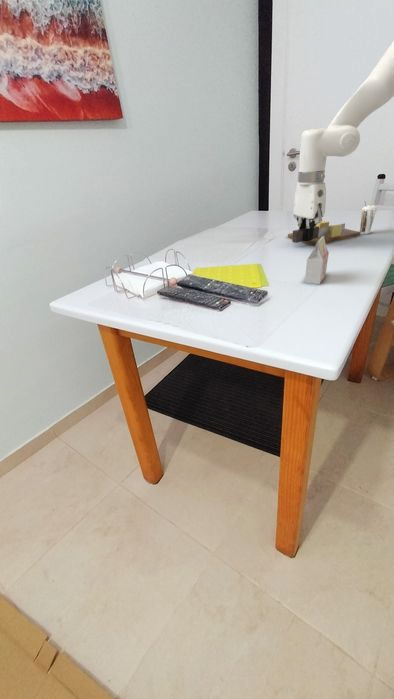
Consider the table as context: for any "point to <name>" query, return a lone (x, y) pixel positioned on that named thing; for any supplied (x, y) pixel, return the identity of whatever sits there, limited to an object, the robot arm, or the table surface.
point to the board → (344, 235)
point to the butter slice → (335, 230)
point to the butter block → (322, 224)
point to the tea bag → (317, 263)
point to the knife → (299, 234)
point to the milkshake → (367, 218)
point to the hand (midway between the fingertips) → (305, 239)
